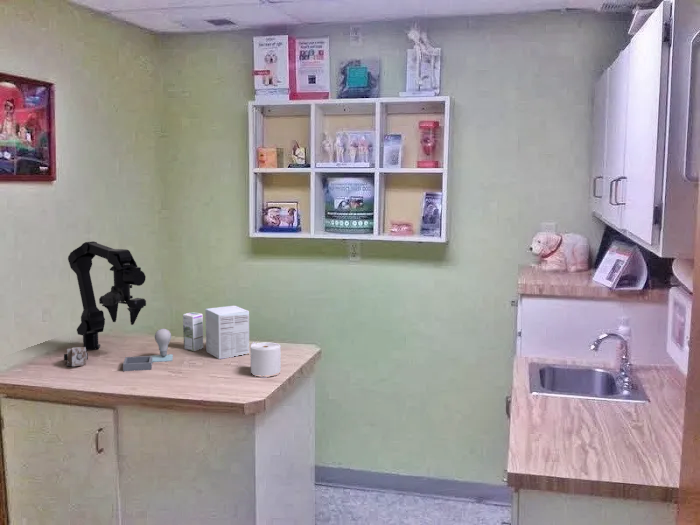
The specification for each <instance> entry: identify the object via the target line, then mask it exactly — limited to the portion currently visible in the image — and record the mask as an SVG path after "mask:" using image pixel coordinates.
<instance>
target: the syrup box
mask: <svg viewBox="0 0 700 525" xmlns="http://www.w3.org/2000/svg"><path fill="white" fill-rule="evenodd" d="M203 318H204V317H203V313H199V312H194V311H192V312H187V313H183V314H182V324H183V349H184V350H187V351H192V352H197V351H199V349H200V350H203V349H204V322H203V320H204V319H203ZM202 348H203V349H202ZM196 350H197V351H196Z"/></svg>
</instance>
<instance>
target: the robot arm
mask: <svg viewBox="0 0 700 525" xmlns="http://www.w3.org/2000/svg"><path fill="white" fill-rule="evenodd" d="M96 256H97V257H100V258H103V259H106V260H107V263H109V264H110V265H112V267H110V268H109V271H110V272H111V271H112V272H113V273H112V274H113V285H111V286H110V291H108V292H106V293H105V294H104V295H101V296H100V297H99V298H98V301H99V305H101V306H102V307H104V308H105V309H106V310H107V311H108V313H109V317H110V318H111V320H112V323H116V321H117V317H118V309H119V304H123V305H127V306H128V307H127V308H126V309H127V310H128V312H129V320H130V325H131V326H133V325H135V323H136V321H137V318H138V316H139V314H140V312H141V310H142V309H143V308H144V307H147V300H146V299H145V298H143V297H136V298H135V297H134V298H133V295H131V289H133V286H138V287H140V286H143V285H144V283H145V282H146V274H145V272H144V271H143V270H142V269H141V267H140V266H138V264H137V262H136V261H135V259H134V257H133V255H132V253H131V251H130V250H128V249H122V248H112V247H109V246H107V245H103V244H101V243H98V242H97V241H85V242H84V243H82V244H81V245H80V246H78V247H77V248H75V249H73V250H72V251H70V253H69V255H68V257H67V261H68V264H69V268H70V269H71V270H72V271H73V272H74V273H75V274H76V280H77V284H78V290H79V295H80V299H81V304H82V309H83V311H82V313H81V316H80V324H79V325H78V326H77V328H76V332H77V335H80V336H82V344H83V345H82V347H86V351H94V350H95V351H96V350H100V348H101V346H102V345H101V344H99V343H100V342H99V333H102V332H104V329H105V328H104V327H105V325H106V318H105V316H104V311H103V310H102V309H101V310H100V309H99V308H98V307H97V302H96V297H95V292H94V288H93V282H92V277H91V274H90V272H91V269H92V266H93V259H94V258H95V257H96Z"/></svg>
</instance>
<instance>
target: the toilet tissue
mask: <svg viewBox="0 0 700 525" xmlns="http://www.w3.org/2000/svg"><path fill="white" fill-rule="evenodd" d="M281 348H282V346H281V345H280V344H279V343H277V342H269V341H267V342H257V343H256V341H253V342H252V343H251V344H250V345H249V356H250V374H251V373H252V374H253V375H261V376H263V375H264V376H265V375H273V374H276V373H279V372H280V371H281V372H282V370H281V368H282V367H281V365H282V364H281V359H282V358H281V351H282V350H281ZM253 375H252V376H253Z"/></svg>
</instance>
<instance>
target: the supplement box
mask: <svg viewBox="0 0 700 525" xmlns="http://www.w3.org/2000/svg"><path fill="white" fill-rule="evenodd" d="M205 341H206V342H205V346H206V350H205V351H206V353H208V354H210V355H211V356H214V357H215V358H216V359H218V360H221V359H229V357H230V358H235V357H234V356H236V357H239V356H238V355H242V356H244V355H243V354H247V353H249V354H250V311H249V310H248V309H244V308H242V307H240V306H238V305H227V306H219V307H217V306H216V307H210V308H205Z"/></svg>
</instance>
